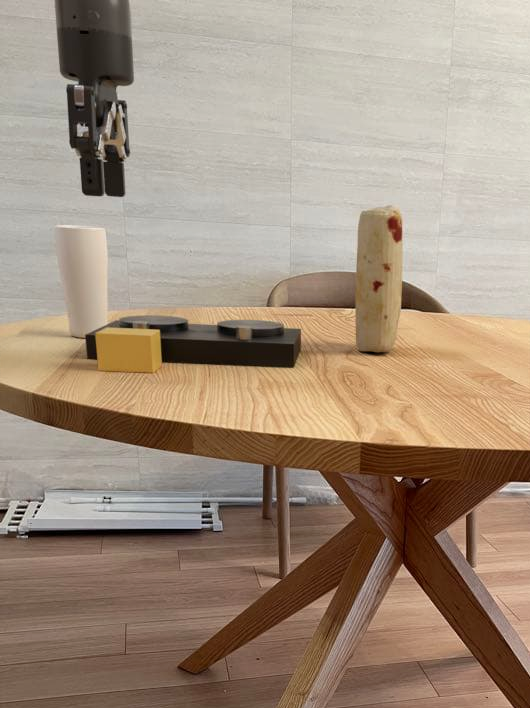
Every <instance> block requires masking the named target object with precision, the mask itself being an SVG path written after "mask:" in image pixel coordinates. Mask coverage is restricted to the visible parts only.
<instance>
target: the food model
mask: <svg viewBox="0 0 530 708" xmlns="http://www.w3.org/2000/svg"><path fill="white" fill-rule="evenodd" d="M403 241H404V240H403V217H402V213H401V211H400V210H399V209H398V208H397V207H396V206H394V205H390V204H388V205H386V206H377V207H373V208H371V209H367V210H362V211H361V212H360V215H359V218H358V223H357V246H356V247H357V248H356V250H357V251H356V265H355V267H356V269H355V286H354V289H355V293H354V294H355V295H354V296H355V300H354V301H355V309H354V310H355V312H354V313H355V315H354V317H355V319H354V320H355V345H356V347H357V349H358V351H360V352H374V353H388V352H390V351H391V350H393V348H394V346H395V343H396V342H397V341H396V340H397V338H398V337H397V336H398V329H399V322H400V316H401V312H402V291H403V253H404V252H403V251H404V248H403V245H404V242H403Z"/></svg>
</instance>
